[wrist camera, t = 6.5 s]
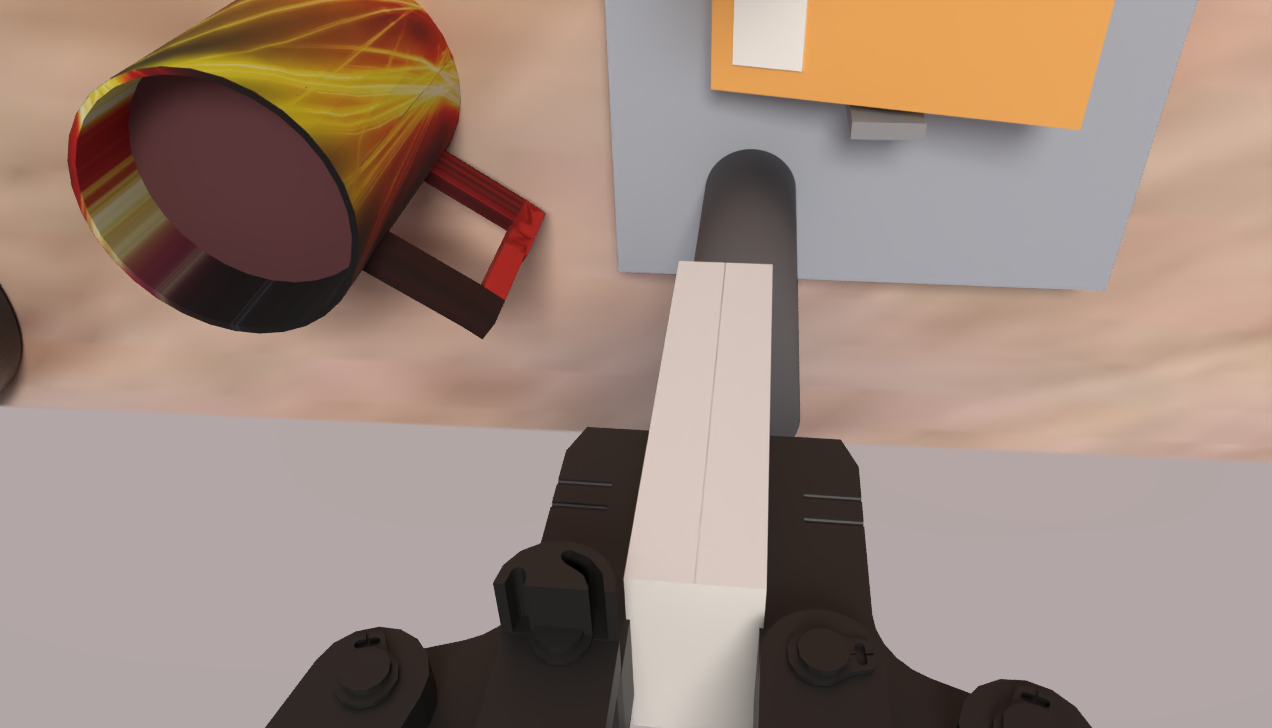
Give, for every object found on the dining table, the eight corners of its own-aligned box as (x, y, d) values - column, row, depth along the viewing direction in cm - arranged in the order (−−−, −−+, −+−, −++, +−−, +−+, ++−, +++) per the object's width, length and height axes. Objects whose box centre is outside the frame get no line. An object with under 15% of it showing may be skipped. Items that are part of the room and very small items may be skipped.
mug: (549, 216, 43) (482, 376, 33) (254, 164, 43) (104, 307, 34) (567, 1, 37) (491, 121, 27) (225, -58, 37) (32, 40, 28)
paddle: (724, 76, 34) (709, 93, 33) (729, -113, 30) (712, -102, 29) (1080, 114, 30) (1079, 135, 29) (1135, -97, 26) (1137, -83, 25)
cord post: (704, 229, 39) (671, 459, 28) (705, 148, 36) (670, 361, 25) (792, 232, 38) (795, 467, 27) (799, 150, 36) (804, 368, 25)
